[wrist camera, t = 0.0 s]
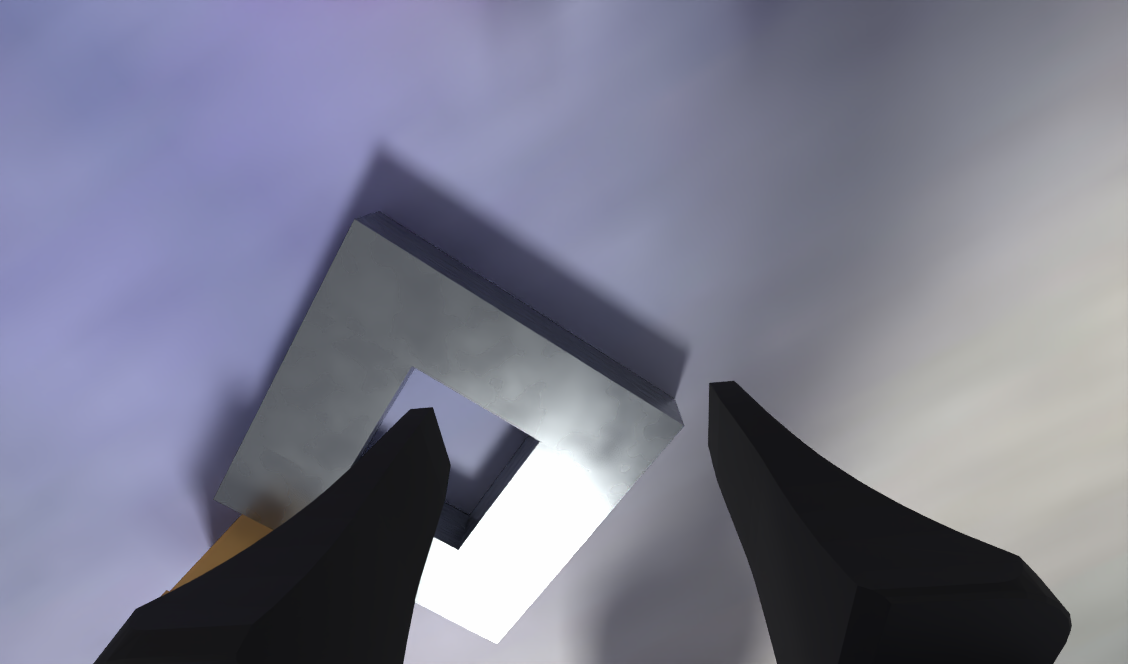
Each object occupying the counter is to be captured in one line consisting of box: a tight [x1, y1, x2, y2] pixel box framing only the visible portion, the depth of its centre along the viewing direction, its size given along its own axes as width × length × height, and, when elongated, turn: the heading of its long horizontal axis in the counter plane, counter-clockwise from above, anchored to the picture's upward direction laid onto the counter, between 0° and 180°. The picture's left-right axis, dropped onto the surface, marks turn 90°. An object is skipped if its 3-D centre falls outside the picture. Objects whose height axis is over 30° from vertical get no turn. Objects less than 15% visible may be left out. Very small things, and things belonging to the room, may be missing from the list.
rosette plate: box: [213, 212, 684, 643], centre depth 25 cm, size 16×16×2 cm
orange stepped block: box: [161, 514, 273, 596], centre depth 26 cm, size 6×4×7 cm, turn 147°
